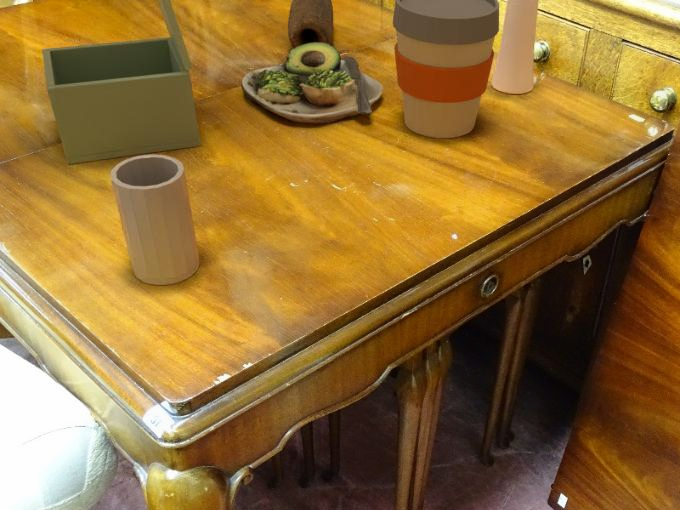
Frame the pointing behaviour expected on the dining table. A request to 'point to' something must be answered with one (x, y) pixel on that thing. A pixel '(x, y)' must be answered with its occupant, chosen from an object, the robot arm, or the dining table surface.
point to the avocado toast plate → (313, 86)
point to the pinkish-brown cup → (156, 218)
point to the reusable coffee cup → (444, 62)
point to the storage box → (120, 99)
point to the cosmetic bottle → (517, 48)
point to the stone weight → (310, 22)
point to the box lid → (174, 32)
